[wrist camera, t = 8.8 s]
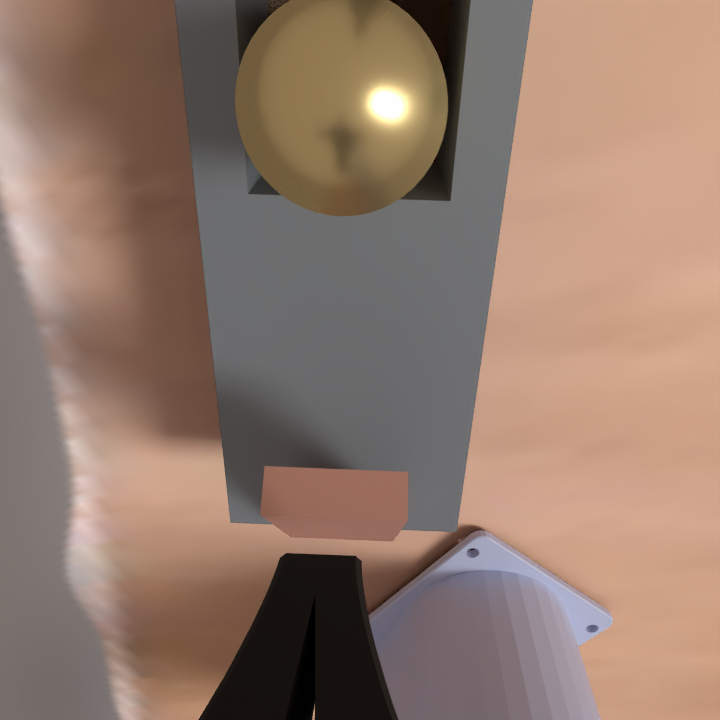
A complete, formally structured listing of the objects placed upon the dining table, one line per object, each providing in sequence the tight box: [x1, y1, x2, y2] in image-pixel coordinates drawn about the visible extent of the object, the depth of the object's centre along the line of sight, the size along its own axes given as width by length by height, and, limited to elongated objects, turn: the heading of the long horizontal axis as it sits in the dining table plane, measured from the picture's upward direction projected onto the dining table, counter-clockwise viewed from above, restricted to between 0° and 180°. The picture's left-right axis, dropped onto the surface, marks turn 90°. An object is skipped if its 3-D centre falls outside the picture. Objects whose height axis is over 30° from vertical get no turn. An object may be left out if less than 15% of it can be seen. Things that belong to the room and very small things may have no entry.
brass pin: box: [235, 0, 448, 216], centre depth 13 cm, size 3×3×8 cm
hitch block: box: [174, 0, 533, 532], centre depth 17 cm, size 16×7×4 cm, turn 178°
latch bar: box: [260, 466, 408, 541], centre depth 15 cm, size 6×3×1 cm
